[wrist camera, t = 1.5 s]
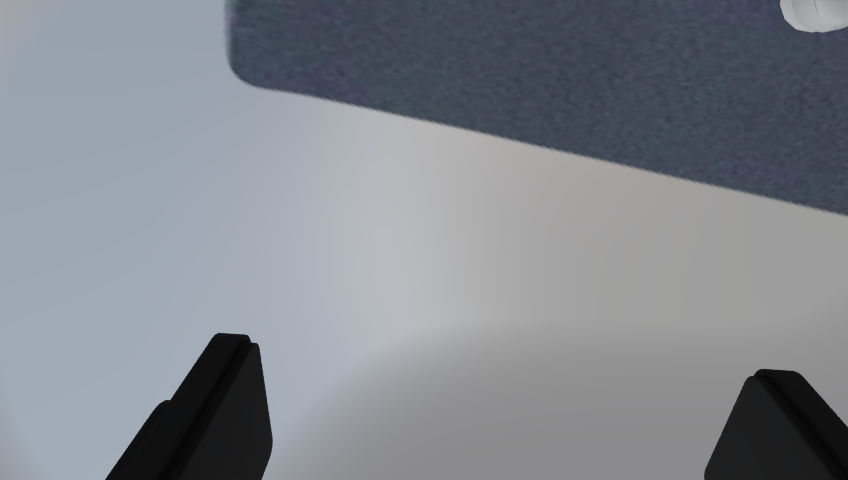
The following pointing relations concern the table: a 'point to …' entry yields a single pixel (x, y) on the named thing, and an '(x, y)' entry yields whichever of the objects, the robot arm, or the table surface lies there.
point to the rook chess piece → (816, 14)
